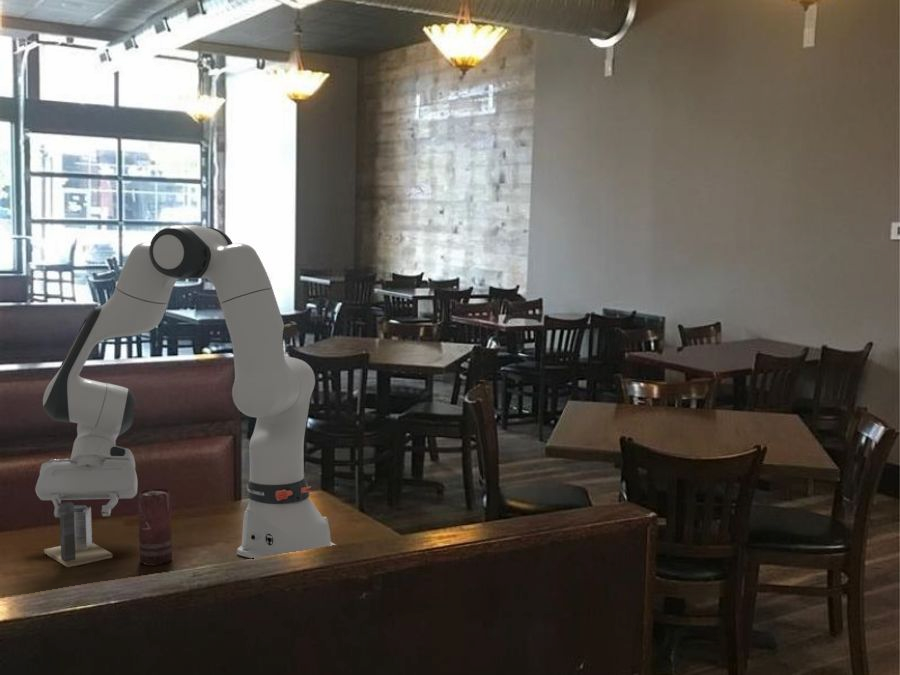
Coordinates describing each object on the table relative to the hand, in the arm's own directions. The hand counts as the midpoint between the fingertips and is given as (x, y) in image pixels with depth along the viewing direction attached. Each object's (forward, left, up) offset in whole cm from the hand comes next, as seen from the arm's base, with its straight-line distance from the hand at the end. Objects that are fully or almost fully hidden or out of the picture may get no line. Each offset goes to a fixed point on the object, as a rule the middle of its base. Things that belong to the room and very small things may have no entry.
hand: (81, 515), depth 197 cm
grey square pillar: (-3, +2, -6) cm, 7 cm away
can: (-19, -7, -7) cm, 21 cm away
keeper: (-5, +4, -7) cm, 9 cm away
